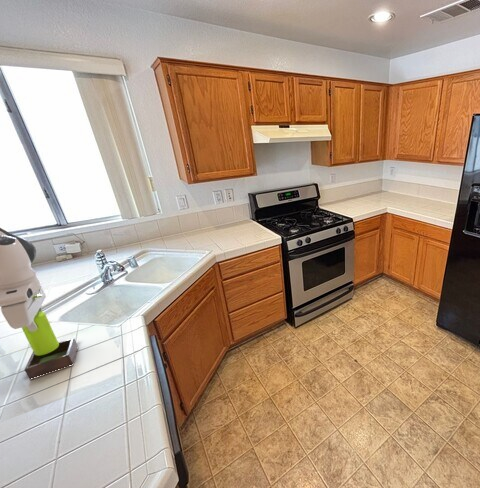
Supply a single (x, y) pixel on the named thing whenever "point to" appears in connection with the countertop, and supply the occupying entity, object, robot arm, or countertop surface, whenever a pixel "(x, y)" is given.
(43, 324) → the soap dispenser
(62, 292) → the countertop surface
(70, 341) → the tray
